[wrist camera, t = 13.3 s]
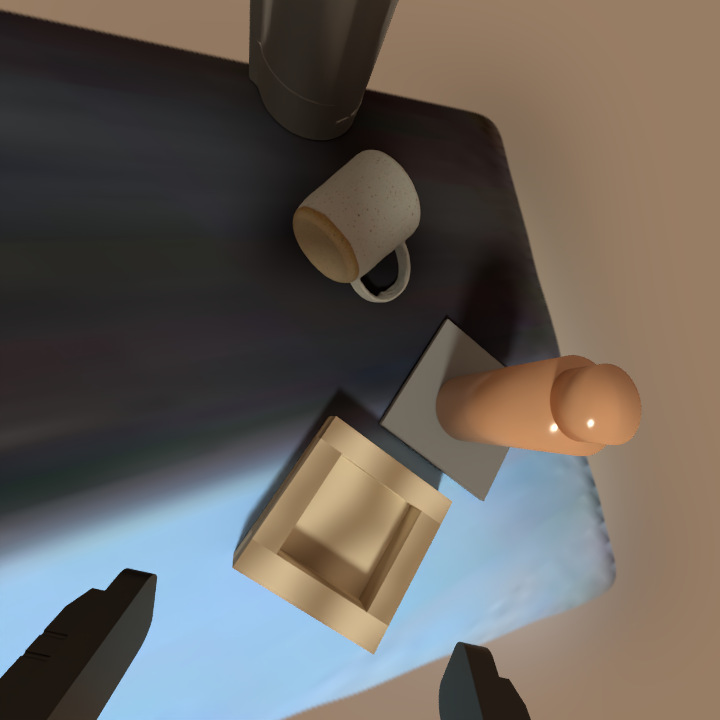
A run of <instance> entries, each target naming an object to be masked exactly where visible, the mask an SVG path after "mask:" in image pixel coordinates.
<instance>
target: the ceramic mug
mask: <svg viewBox="0 0 720 720" xmlns="http://www.w3.org/2000/svg"><path fill="white" fill-rule="evenodd" d="M419 221H420V204H419V199H418V195H417V192H416V190H415V187H414V185H413V183H412V181H411V179H410V178H409V176H408V174H407V173H406V172H405V171H404V169H403V168H402V167H401V166H400V165H399V164H398V163H397V162H396V161H395V160H394V159H393V158H391V157H390V156H388V155H387V154H385V153H383V152H381V151H378V150H365V151H362V152H360V153H359V154H357V155H356V156H355V157H354V158H353V159H351V160H350V161H349V162H348V163H347V164H346V165H344V166H343V167H342V168H341V169H340V170H339V171H337V172H336V173H335V174H334V175H332V176H331V177H330V178H329V179H328V180H327V181H326V182H325V183H324V184H323V185H321V186H320V187H319V188H318V189H316V190H315V191H314V192H313V193H312V194H310V195H309V196H308V197H307V198H306V199H305V200H304V201H303V202H302V203H301V205H300V206H299V207H298V209H297V210H296V212H295V214H294V217H293V230H294V234H295V237H296V239H297V242H298V244H299V246H300V248H301V249H302V251H303V253H304V254H305V255H306V256H307V258H308V259H309V260H310V262H311V263H312V264H313V265H314V266H315V267H316V268H317V269H318V270H319V271H320V272H322V273H323V274H324V275H325V276H327V277H328V278H330V279H332V280H334V281H337V282H341V283H351V285H352V286H353V288H354V290H355V291H356V292H357V293H358V294H359V295H360V296H361V297H362V298H364V299H366V300H368V301H371V302H388V301H390V300H393V299H395V298H396V297H397V296H398V295H400V294H401V293H402V292H403V290H404V289H405V288H406V286H407V284H408V281H409V277H410V258H409V253H408V249H407V246H406V244H405V240H406V239H407V238H408V237H410V236H411V235H412V234H413V233H414V231H415V230H416V228H417V227H418V225H419ZM394 249H395V252H396V255H397V259H398V266H399V269H398V278H397V280H396V281H395V284H393V285H392V286H391V287H390V288H388V289H387V290H386V291H384V292H380V293H379V294H378V296H375V295H373V294H371V293H370V292H369V291H368V290H367V289H366V288H365V287H364V284H363V283H362V282H361V280H360V278H361V277H362V276H363V275H365V274H366V273H367V272H369V271H370V270H371V269H372V268H373V267H374V266H375V265H376V264H377V263H378V262H380V261H381V260H382V259H383V258H384V257H385V256H387V255H388V254H389V253H391V252H392V251H393V250H394Z"/></svg>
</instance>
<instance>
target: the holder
mask: <svg viewBox="0 0 720 720" xmlns="http://www.w3.org/2000/svg"><path fill="white" fill-rule="evenodd" d="M451 504H452V501H451V500H449V499H448V498H447V497H445V496H444V495H443V494H441V493H440V492H438V491H437V490H436V489H434V488H433V487H432V486H430V485H429V484H428V483H426V482H425V481H424V480H422V479H421V478H419V477H418V476H417V475H415V474H414V473H413V472H411V471H410V470H409V469H407V468H406V467H405V466H403V465H402V464H400V463H399V462H398V461H396V460H395V459H394V458H392V457H391V456H390V455H388V454H387V453H386V452H384V451H383V450H382V449H380V448H379V447H377V446H376V445H375V444H373V443H372V442H371V441H369V440H368V439H367V438H365V437H364V436H363V435H361V434H360V433H358V432H357V431H356V430H354V429H353V428H352V427H350V426H349V425H348V424H346V423H345V422H344V421H342V420H341V419H340V418H338V417H337V416H329V417H328V418H327V419H326V421H325V422H324V424H323V425H322V427H321V428H320V430H319V431H318V432H317V434H316V435H315V437H314V438H313V440H312V441H311V443H310V444H309V445H308V447H307V448H306V450H305V451H304V453H303V454H302V456H301V457H300V458H299V460H298V461H297V463H296V464H295V466H294V467H293V469H292V470H291V471H290V473H289V474H288V476H287V477H286V479H285V480H284V482H283V483H282V484H281V486H280V487H279V489H278V490H277V492H276V493H275V495H274V496H273V497H272V499H271V500H270V502H269V503H268V505H267V506H266V508H265V509H264V510H263V512H262V513H261V515H260V516H259V518H258V519H257V521H256V522H255V523H254V525H253V526H252V528H251V529H250V531H249V532H248V534H247V535H246V536H245V538H244V539H243V541H242V542H241V544H240V545H239V547H238V548H237V549H236V551H235V552H234V555H233V567H232V568H234V569H236V570H237V571H239V572H240V573H242V574H244V575H245V576H247V577H249V578H250V579H252V580H253V581H255V582H257V583H258V584H260V585H262V586H263V587H265V588H266V589H268V590H270V591H271V592H273V593H275V594H276V595H278V596H279V597H281V598H283V599H284V600H286V601H288V602H289V603H291V604H292V605H294V606H296V607H297V608H299V609H301V610H302V611H304V612H305V613H307V614H309V615H310V616H312V617H314V618H315V619H317V620H318V621H320V622H322V623H323V624H325V625H327V626H328V627H330V628H331V629H333V630H335V631H336V632H338V633H340V634H341V635H343V636H344V637H346V638H348V639H349V640H351V641H353V642H354V643H356V644H357V645H359V646H361V647H362V648H364V649H366V650H367V651H369V652H370V653H372V654H374V653H375V651H376V649H377V647H378V645H379V643H380V641H381V639H382V638H383V636H384V634H385V632H386V630H387V628H388V626H389V624H390V622H391V620H392V618H393V616H394V614H395V612H396V610H397V608H398V606H399V605H400V603H401V601H402V599H403V597H404V595H405V593H406V591H407V589H408V587H409V585H410V583H411V581H412V579H413V577H414V575H415V573H416V572H417V570H418V568H419V566H420V564H421V562H422V560H423V558H424V556H425V554H426V552H427V550H428V548H429V546H430V544H431V542H432V540H433V539H434V537H435V535H436V533H437V531H438V529H439V527H440V525H441V523H442V521H443V519H444V517H445V515H446V513H447V511H448V509H449V507H450V505H451Z"/></svg>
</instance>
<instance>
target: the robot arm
mask: <svg viewBox="0 0 720 720" xmlns="http://www.w3.org/2000/svg"><path fill="white" fill-rule="evenodd" d="M397 3H398V0H250V37H249V40H250V41H249V78H250V80H251V81H253V82H254V83H255V84H256V85H257V87H258V89H259V92H260V95H261V98H262V101H263V103H264V105H265V107H266V108H267V110H268V111H269V113H270V114H271V115H272V116H273V118H274V119H275V120H276V121H277V122H278V123H280V124H281V125H282V126H283V127H284V128H286V129H288V130H289V131H291V132H292V133H294V134H297V135H299V136H301V137H304V138H308V139H312V140H329V139H334V138H336V137H339V136H341V135H342V134H344V133H345V132H346V131H348V129H349V128H350V127H351V125H352V124H353V121H354V119H355V116H356V113H357V111H358V109H359V107H360V104H361V102H362V98H363V95H364V92H365V89H366V87H367V84H368V81H369V79H370V76H371V73H372V71H373V68H374V65H375V63H376V60H377V57H378V54H379V52H380V49H381V46H382V43H383V41H384V38H385V35H386V32H387V30H388V27H389V24H390V22H391V19H392V16H393V13H394V11H395V8H396V5H397ZM156 583H157V576H156V574H152V573H147V572H142V571H138V570H133V569H129V568H126V569H124V570H123V571H122V572H121V573H120V574H119V575H118V576H117V577H116V578H115V579H114V581H113V582H112V583H111V584H110V585H109V587H108V588H107V589H106V590H105V591H103V590H99V589H94V588H92V589H90V590H89V591H87V592H86V593H85V594H83V595H82V596H80V597H79V598H77V599H76V600H74V601H73V602H71V603H70V604H68V605H67V606H66V607H65V608H64V609H63V610H62V611H61V612H60V613H59V614H58V615H57V617H56V618H55V619H54V620H53V621H52V622H51V623H50V624H49V625H48V626H47V628H46V629H45V630H44V632H43V634H42V635H39V636H38V637H37V639H36V640H35V641H34V642H33V643H32V644H31V645H30V646H29V647H28V648H27V650H26V651H25V653H24V655H23V656H20V657H19V658H18V659H17V661H16V662H15V663H14V664H13V665H12V666H11V667H10V668H9V669H8V670H7V672H6V673H5V674H4V675H3V676H2V677H1V678H0V720H97V718H98V717H99V715H100V713H101V712H102V710H103V708H104V707H105V705H106V703H107V702H108V700H109V699H110V697H111V695H112V694H113V692H114V690H115V689H116V687H117V685H118V684H119V682H120V681H121V679H122V677H123V676H124V674H125V672H126V671H127V669H128V667H129V666H130V664H131V662H132V661H133V659H134V658H135V656H136V654H137V653H138V651H139V649H140V648H141V646H142V644H143V642H144V640H145V638H146V636H147V633H148V631H149V628H150V625H151V621H152V617H153V608H154V600H155V591H156ZM439 712H440V719H441V720H531V719H530V716H529V714H528V711H527V708H526V705H525V704H524V702H523V701H522V699H521V698H520V696H519V694H518V693H517V691H516V689H515V688H514V686H513V685H512V683H511V682H510V680H509V679H505V678H501V677H499V675H498V672H497V669H496V666H495V662H494V659H493V656H492V654H491V652H490V651H489V649H488V648H485V647H481V646H477V645H472V644H467V643H463V642H458V643H457V644H456V646H455V648H454V651H453V653H452V656H451V658H450V661H449V663H448V666H447V668H446V670H445V673H444V675H443V678H442V680H441V684H440V689H439Z"/></svg>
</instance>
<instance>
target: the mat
mask: <svg viewBox="0 0 720 720" xmlns="http://www.w3.org/2000/svg"><path fill="white" fill-rule="evenodd" d="M499 368H505V367H504V366H503V365H502V364H501V363H499V362H498V361H497V360H496V359H495V358H493V357H492V356H491V355H490V354H489V353H488V352H486V351H485V350H484V349H483V348H482V347H480V346H479V345H478V344H477V343H476V342H475V341H473V340H472V339H471V338H470V337H469V336H467V335H466V334H465V333H464V332H463V331H462V330H460V329H459V328H458V327H457V326H456V325H454V324H453V323H452V322H451V321H450V320H449V319H446V320H444V322H443V323H442V325H441V327H440V328H439V330H438V331H437V333H436V335H435V336H434V338H433V339H432V341H431V342H430V344H429V346H428V347H427V349H426V350H425V352H424V353H423V355H422V357H421V358H420V360H419V361H418V363H417V364H416V366H415V368H414V369H413V371H412V372H411V374H410V376H409V377H408V379H407V380H406V382H405V383H404V385H403V387H402V388H401V390H400V391H399V393H398V394H397V396H396V398H395V399H394V401H393V402H392V404H391V405H390V407H389V409H388V410H387V412H386V413H385V415H384V417H383V418H382V420H381V421H380V423H379V424H380V425H381V426H382V427H384V428H385V429H386V430H388V431H389V432H390V433H392V434H393V435H394V436H396V437H397V438H398V439H400V440H401V441H402V442H404V443H405V444H406V445H408V446H409V447H410V448H412V449H413V450H414V451H416V452H417V453H418V454H419V455H421V456H422V457H423V458H425V459H426V460H427V461H429V462H430V463H431V464H433V465H434V466H435V467H437V468H438V469H439V470H441V471H442V472H443V473H445V474H446V475H447V476H449V477H450V478H451V479H453V480H454V481H455V482H457V483H458V484H459V485H461V486H462V487H463V488H465V489H466V490H467V491H469V492H470V493H471V494H473V495H474V496H475V497H477V498H478V499H479V500H482V501H484V499H485V497H486V495H487V493H488V491H489V489H490V487H491V485H492V483H493V481H494V479H495V477H496V475H497V473H498V471H499V469H500V466H501V464H502V462H503V460H504V458H505V456H506V454H507V452H508V450H509V448H510V447H505V446H497V445H489V444H482V443H474V442H466V441H460V440H456V439H454V438H452V437H451V436H449V435H448V434H447V433H446V432H445V431H444V430H443V428H442V427H441V425H440V423H439V421H438V418H437V414H436V399H437V395H438V393H439V390H440V389H441V387H442V386H443V385H444V384H445V383H446V382H447V381H448V380H449V379H451V378H453V377H456V376H462V375H467V374H472V373H478V372H483V371H489V370H494V369H499Z"/></svg>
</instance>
